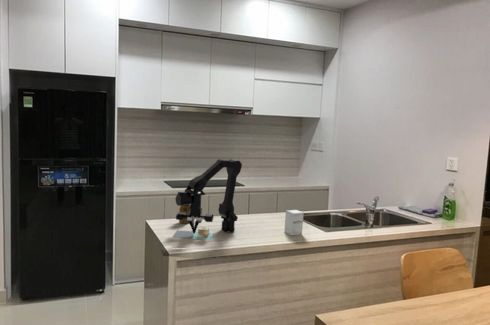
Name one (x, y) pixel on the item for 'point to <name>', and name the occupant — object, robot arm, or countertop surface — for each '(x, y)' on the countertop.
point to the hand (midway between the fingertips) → (194, 233)
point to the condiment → (186, 209)
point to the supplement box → (293, 222)
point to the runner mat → (190, 235)
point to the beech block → (203, 232)
